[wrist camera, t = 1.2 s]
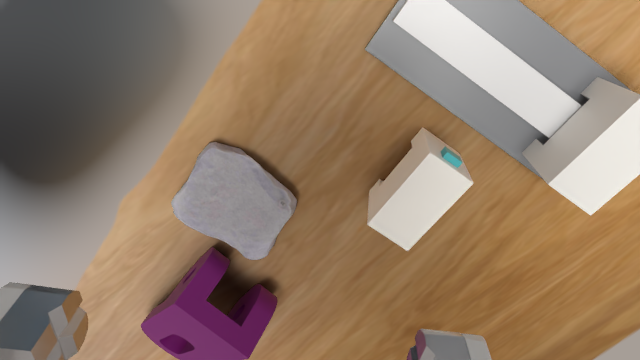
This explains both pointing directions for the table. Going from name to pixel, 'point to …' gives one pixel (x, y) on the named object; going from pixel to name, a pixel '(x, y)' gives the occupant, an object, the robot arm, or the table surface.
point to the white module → (417, 190)
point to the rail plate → (473, 96)
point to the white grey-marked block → (593, 147)
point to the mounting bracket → (209, 316)
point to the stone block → (234, 201)
